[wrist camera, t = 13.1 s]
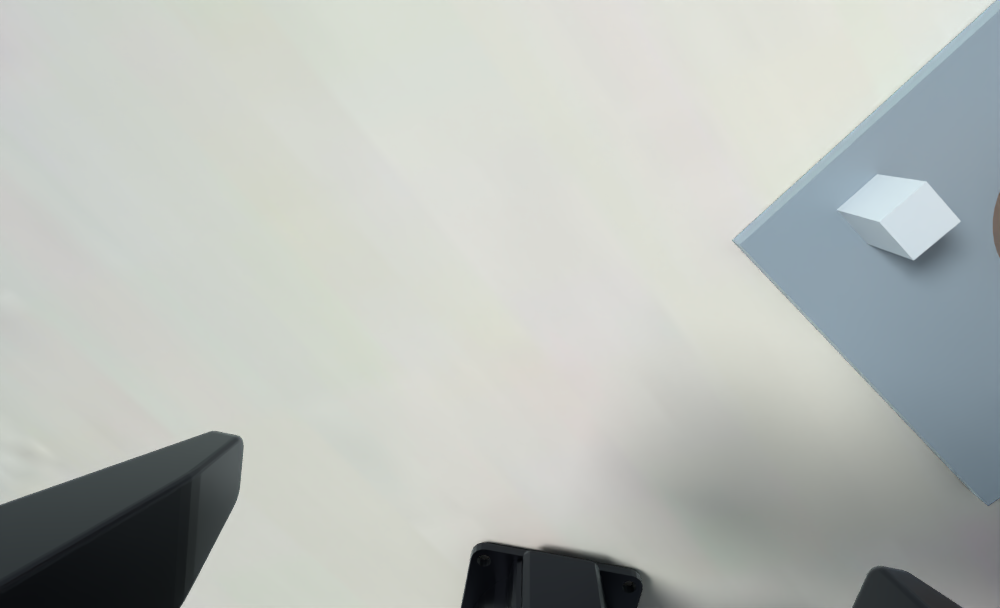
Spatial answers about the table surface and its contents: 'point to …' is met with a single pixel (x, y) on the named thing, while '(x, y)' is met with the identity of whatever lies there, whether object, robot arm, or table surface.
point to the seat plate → (910, 252)
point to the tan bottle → (997, 225)
